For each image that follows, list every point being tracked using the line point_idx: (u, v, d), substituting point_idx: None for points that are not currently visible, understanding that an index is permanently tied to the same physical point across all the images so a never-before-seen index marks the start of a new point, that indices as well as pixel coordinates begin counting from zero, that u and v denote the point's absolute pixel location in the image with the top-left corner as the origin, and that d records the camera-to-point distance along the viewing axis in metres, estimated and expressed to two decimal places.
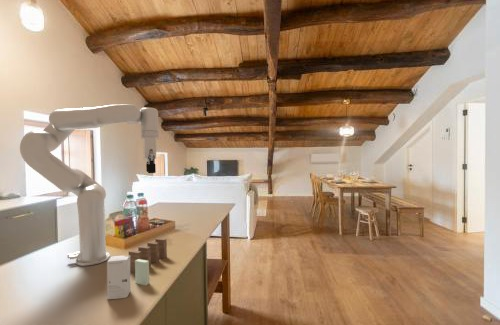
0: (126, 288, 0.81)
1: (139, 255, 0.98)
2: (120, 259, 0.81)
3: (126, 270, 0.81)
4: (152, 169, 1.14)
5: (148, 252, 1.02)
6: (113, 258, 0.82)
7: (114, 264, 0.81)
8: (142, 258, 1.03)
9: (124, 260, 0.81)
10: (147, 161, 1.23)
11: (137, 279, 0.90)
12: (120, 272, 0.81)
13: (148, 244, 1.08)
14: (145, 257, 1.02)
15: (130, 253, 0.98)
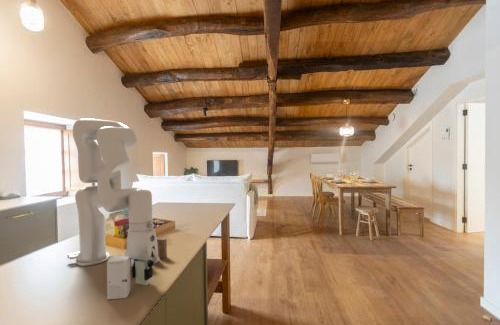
0: (126, 288, 0.81)
1: None
2: (120, 259, 0.81)
3: (126, 270, 0.81)
4: None
5: None
6: (113, 258, 0.82)
7: (114, 264, 0.81)
8: None
9: (124, 260, 0.81)
10: (149, 262, 0.90)
11: (137, 279, 0.90)
12: (120, 272, 0.81)
13: None
14: None
15: None
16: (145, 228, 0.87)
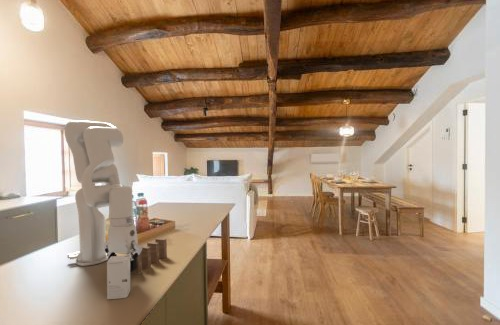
0: (126, 288, 0.81)
1: (139, 255, 0.98)
2: (120, 259, 0.81)
3: (126, 270, 0.81)
4: None
5: (148, 252, 1.02)
6: (113, 258, 0.82)
7: (114, 264, 0.81)
8: (142, 258, 1.03)
9: (124, 260, 0.81)
10: (134, 255, 0.93)
11: None
12: (120, 272, 0.81)
13: (148, 244, 1.08)
14: (145, 257, 1.02)
15: None
16: (125, 223, 0.90)
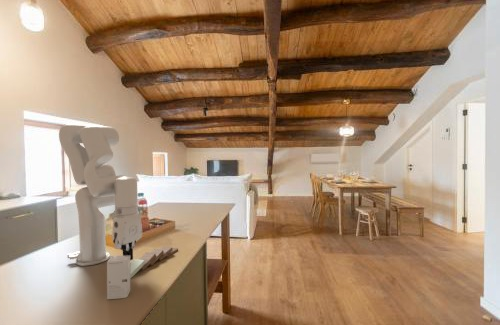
0: (126, 288, 0.81)
1: (153, 256, 1.06)
2: (120, 259, 0.81)
3: (126, 270, 0.81)
4: None
5: (160, 253, 1.09)
6: (113, 258, 0.82)
7: (114, 264, 0.81)
8: None
9: (124, 260, 0.81)
10: (128, 245, 0.94)
11: None
12: (120, 272, 0.81)
13: (163, 246, 1.17)
14: None
15: (146, 253, 1.07)
16: None
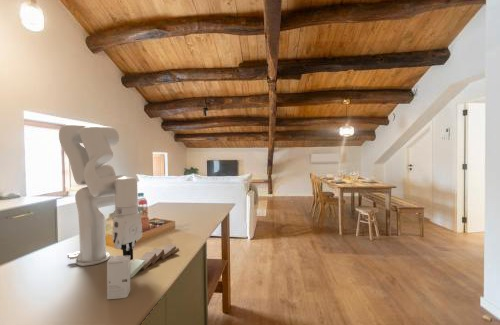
0: (126, 288, 0.81)
1: (154, 256, 1.06)
2: (120, 259, 0.81)
3: (126, 270, 0.81)
4: None
5: (161, 252, 1.11)
6: (113, 258, 0.82)
7: (114, 264, 0.81)
8: None
9: (124, 260, 0.81)
10: (128, 245, 0.94)
11: None
12: (120, 272, 0.81)
13: (167, 245, 1.18)
14: (156, 254, 1.09)
15: (147, 253, 1.08)
16: None
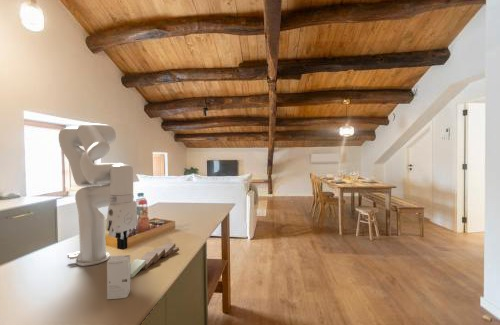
0: (126, 288, 0.81)
1: (155, 255, 1.07)
2: (120, 259, 0.81)
3: (126, 270, 0.81)
4: None
5: (162, 252, 1.11)
6: (113, 258, 0.82)
7: (114, 264, 0.81)
8: None
9: (124, 260, 0.81)
10: (123, 234, 0.93)
11: None
12: (120, 272, 0.81)
13: (166, 243, 1.20)
14: (157, 253, 1.10)
15: (148, 252, 1.08)
16: None
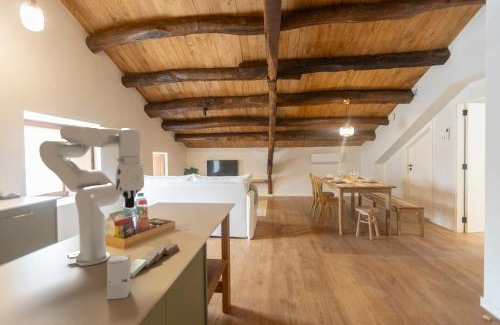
0: (126, 288, 0.81)
1: (157, 255, 1.08)
2: (120, 259, 0.81)
3: (126, 270, 0.81)
4: None
5: (163, 250, 1.12)
6: (113, 258, 0.82)
7: (114, 264, 0.81)
8: None
9: (124, 260, 0.81)
10: None
11: None
12: (120, 272, 0.81)
13: (169, 243, 1.22)
14: None
15: (150, 252, 1.09)
16: None
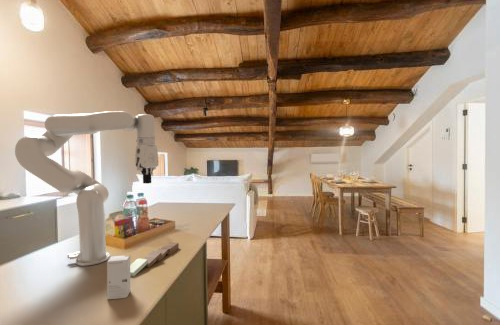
0: (126, 288, 0.81)
1: (159, 255, 1.08)
2: (120, 259, 0.81)
3: (126, 270, 0.81)
4: None
5: (166, 252, 1.14)
6: (113, 258, 0.82)
7: (114, 264, 0.81)
8: None
9: (124, 260, 0.81)
10: (147, 170, 1.15)
11: None
12: (120, 272, 0.81)
13: (170, 242, 1.24)
14: None
15: (153, 252, 1.10)
16: (137, 142, 1.13)
